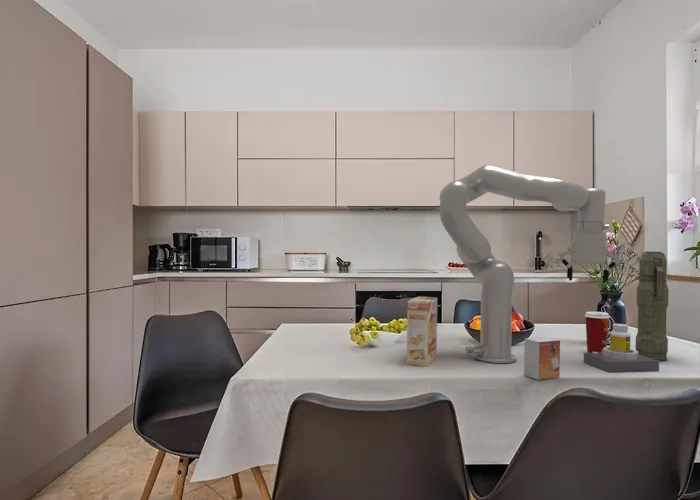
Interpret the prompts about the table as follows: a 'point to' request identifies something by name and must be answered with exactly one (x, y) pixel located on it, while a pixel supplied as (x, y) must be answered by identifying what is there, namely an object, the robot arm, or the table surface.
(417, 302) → the coffeecake box
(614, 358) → the grey bottle holder base
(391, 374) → the table surface
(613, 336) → the supplement bottle
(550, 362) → the small box
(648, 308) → the thermos
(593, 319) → the paper cup
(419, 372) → the table surface
